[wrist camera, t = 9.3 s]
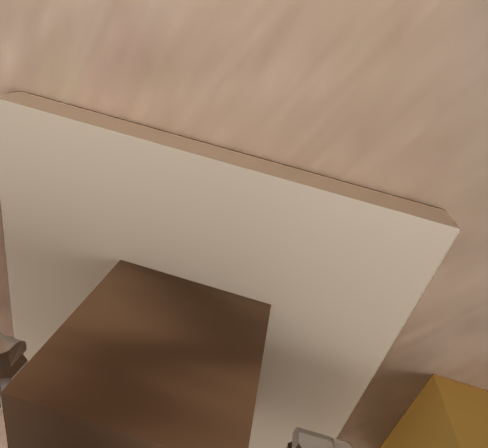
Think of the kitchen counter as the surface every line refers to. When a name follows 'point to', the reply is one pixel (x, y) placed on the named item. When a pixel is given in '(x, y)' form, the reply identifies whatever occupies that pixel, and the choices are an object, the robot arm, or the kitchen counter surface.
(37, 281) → the plate
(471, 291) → the kitchen counter surface
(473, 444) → the mustard block
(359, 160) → the kitchen counter surface
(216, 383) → the walnut block
